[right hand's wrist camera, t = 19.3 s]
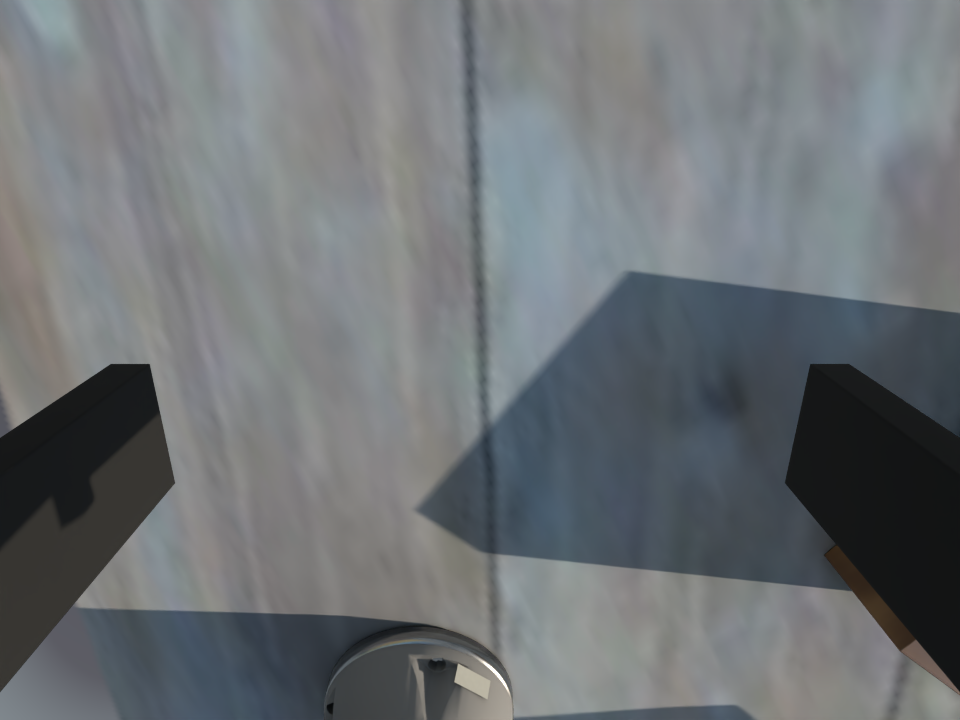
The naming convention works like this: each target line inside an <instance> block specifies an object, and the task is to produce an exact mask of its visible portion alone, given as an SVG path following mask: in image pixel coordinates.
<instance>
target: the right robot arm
mask: <svg viewBox="0 0 960 720" xmlns="http://www.w3.org/2000/svg"><path fill="white" fill-rule="evenodd" d="M174 484H175V481H174V476H173V471H172V467H171V462H170V457H169V453H168V448H167V443H166V439H165V434H164V429H163V425H162V420H161V415H160V411H159V406H158V401H157V396H156V392H155V387H154V382H153V378H152V373H151V368H150V364H110V365H109V366H107V367H106V368H104V369H103V370H101V371H100V372H98V373H97V374H95V375H94V376H92V377H91V378H89V379H88V380H86V381H85V382H83V383H82V384H80V385H79V386H77V387H76V388H74V389H73V390H71V391H70V392H68V393H67V394H65V395H64V396H62V397H61V398H59V399H58V400H56V401H55V402H53V403H52V404H50V405H49V406H47V407H46V408H44V409H43V410H41V411H40V412H38V413H37V414H35V415H34V416H32V417H31V418H29V419H28V420H26V421H25V422H23V423H22V424H20V425H19V426H17V427H16V428H14V429H13V430H11V431H10V432H8V433H7V434H5V435H4V436H2V437H1V438H0V692H1V690H2V689H3V688H4V687H5V686H6V685H7V683H8V682H9V681H10V680H11V678H12V677H13V676H14V675H15V674H16V673H17V671H18V670H19V669H20V668H21V667H22V665H23V664H24V663H25V662H26V661H27V659H28V658H29V657H30V656H31V655H32V653H33V652H34V651H35V650H36V649H37V647H38V646H39V645H40V644H41V643H42V641H43V640H44V639H45V638H46V637H47V635H48V634H49V633H50V632H51V631H52V629H53V628H54V627H55V626H56V625H57V623H58V622H59V621H60V620H61V619H62V618H63V616H64V615H65V614H66V613H67V612H68V610H69V609H70V608H71V607H72V606H73V604H74V603H75V602H76V601H77V600H78V598H79V597H80V596H81V595H82V594H83V592H84V591H85V590H86V589H87V588H88V586H89V585H90V584H91V583H92V582H93V580H94V579H95V578H96V577H97V576H98V574H99V573H100V572H101V571H102V570H103V568H104V567H105V566H106V565H107V564H108V562H109V561H110V560H111V559H112V558H113V557H114V555H115V554H116V553H117V552H118V551H119V549H120V548H121V547H122V546H123V545H124V543H125V542H126V541H127V540H128V539H129V537H130V536H131V535H132V534H133V533H134V531H135V530H136V529H137V528H138V527H139V525H140V524H141V523H142V522H143V521H144V519H145V518H146V517H147V516H148V515H149V513H150V512H151V511H152V510H153V509H154V507H155V506H156V505H157V504H158V503H159V501H160V500H161V499H162V498H163V497H164V496H165V494H166V493H167V492H168V491H169V490H170V488H171V487H172V486H173V485H174ZM785 484H786V485H787V486H788V487H789V488H790V490H791V491H792V492H793V493H794V494H795V496H796V497H797V498H798V499H799V500H800V501H801V503H802V504H803V505H804V506H805V507H806V509H807V510H808V511H809V512H810V513H811V515H812V516H813V517H814V518H815V519H816V521H817V522H818V523H819V524H820V525H821V527H822V528H823V529H824V530H825V531H826V533H827V534H828V535H829V536H830V537H831V539H832V540H833V541H834V542H835V543H836V545H837V546H838V547H839V548H840V549H841V551H842V552H843V553H844V554H845V555H846V557H847V558H848V559H849V560H850V561H851V562H852V564H853V565H854V566H855V567H856V568H857V570H858V571H859V572H860V573H861V574H862V576H863V577H864V578H865V579H866V580H867V582H868V583H869V584H870V585H871V586H872V588H873V589H874V590H875V591H876V592H877V594H878V595H879V596H880V597H881V598H882V600H883V601H884V602H885V603H886V604H887V606H888V607H889V608H890V609H891V610H892V612H893V613H894V614H895V615H896V616H897V618H898V619H899V620H900V621H901V622H902V623H903V625H904V626H905V627H906V628H907V629H908V631H909V632H910V633H911V634H912V635H913V637H914V638H915V639H916V640H917V641H918V643H919V644H920V645H921V646H922V647H923V649H924V650H925V651H926V652H927V653H928V655H929V656H930V657H931V658H932V659H933V661H934V662H935V663H936V664H937V665H938V667H939V668H940V669H941V670H942V671H943V673H944V674H945V675H946V676H947V677H948V679H949V680H950V681H951V682H952V683H953V685H954V686H955V687H956V688H957V689H958V690H959V692H960V438H959V437H958V436H956V435H955V434H953V433H952V432H950V431H949V430H947V429H946V428H944V427H943V426H941V425H940V424H938V423H937V422H935V421H934V420H932V419H931V418H929V417H928V416H926V415H925V414H923V413H922V412H920V411H919V410H917V409H916V408H914V407H913V406H911V405H910V404H908V403H907V402H905V401H904V400H902V399H901V398H899V397H898V396H896V395H895V394H893V393H892V392H890V391H889V390H887V389H886V388H884V387H883V386H881V385H880V384H878V383H877V382H875V381H874V380H872V379H871V378H869V377H868V376H866V375H865V374H863V373H862V372H860V371H859V370H857V369H856V368H854V367H853V366H851V365H850V364H810V368H809V373H808V378H807V382H806V387H805V392H804V396H803V401H802V406H801V411H800V415H799V420H798V425H797V429H796V434H795V439H794V443H793V448H792V453H791V457H790V462H789V467H788V471H787V476H786V481H785ZM513 713H514V712H513V695H512V686H511V682H510V679H509V676H508V674H507V672H506V670H505V668H504V667H503V665H502V664H501V663H500V661H499V660H498V659H497V658H496V657H495V656H494V655H493V654H492V653H491V652H490V651H489V650H488V649H486V648H485V647H484V646H482V645H481V644H479V643H478V642H476V641H474V640H472V639H470V638H468V637H466V636H464V635H461V634H458V633H455V632H452V631H448V630H444V629H439V628H433V627H402V628H395V629H390V630H386V631H383V632H379V633H377V634H374V635H372V636H369V637H367V638H365V639H363V640H362V641H360V642H358V643H357V644H355V645H354V646H353V647H351V648H350V649H349V650H348V651H347V652H346V653H345V654H344V655H343V656H342V657H341V658H340V660H339V661H338V662H337V664H336V666H335V667H334V669H333V672H332V674H331V677H330V680H329V684H328V688H327V692H326V695H325V700H324V720H513Z"/></svg>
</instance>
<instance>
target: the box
mask: <svg viewBox="0 0 960 720" xmlns="http://www.w3.org/2000/svg"><path fill="white" fill-rule="evenodd" d="M825 557H826V558H827V559H828V561H829V562H830V563H831V564H832V566H833V567H834V568H835V570H836V571H837V572H838V573H839V575H840V576H841V577H842V578H843V580H844V581H845V582H846V583H847V585H848V586H849V587H850V589H851V590H852V591H853V592H854V594H855V595H856V596H857V597H858V599H859V600H860V601H861V602H862V604H863V605H864V606H865V608H866V609H867V610H868V611H869V613H870V614H871V615H872V616H873V618H874V619H875V620H876V621H877V623H878V624H879V625H880V627H881V628H882V629H883V630H884V632H885V633H886V634H887V635H888V637H889V638H890V639H891V641H892V642H893V643H894V644H895V646H896V647H897V648H898V649H899V651H900V652H902V653H903V654H905V655H906V656H907V657H909V658H910V659H911V660H913V661H914V662H915V663H917V664H918V665H920V666H921V667H922V668H924V669H925V670H926V671H928V672H929V673H930V674H932V675H933V676H934V677H936V678H937V679H939V680H940V681H941V682H943V683H944V684H945V685H947V686H948V687H949V688H951V689H952V690H954V691H955V692H956V693H958V694H959V695H960V692H959V690H958V689H957V688H956V687H955V686H954V685H953V683H952V682H951V681H950V680H949V679H948V677H947V676H946V675H945V674H944V673H943V671H942V670H941V669H940V668H939V667H938V665H937V664H936V663H935V662H934V661H933V659H932V658H931V657H930V656H929V655H928V653H927V652H926V651H925V650H924V649H923V647H922V646H921V645H920V644H919V643H918V641H917V640H916V639H915V638H914V637H913V635H912V634H911V633H910V632H909V631H908V629H907V628H906V627H905V626H904V625H903V623H902V622H901V621H900V620H899V619H898V618H897V616H896V615H895V614H894V613H893V612H892V610H891V609H890V608H889V607H888V606H887V604H886V603H885V602H884V601H883V600H882V598H881V597H880V596H879V595H878V594H877V592H876V591H875V590H874V589H873V588H872V586H871V585H870V584H869V583H868V582H867V580H866V579H865V578H864V577H863V576H862V574H861V573H860V572H859V571H858V570H857V568H856V567H855V566H854V565H853V564H852V562H851V561H850V560H849V559H848V558H847V557H846V555H845V554H844V553H843V552H842V551H841V549H840V548H839V547H838V546H837V545H836V546H835V547H833V548H832V549H831V550H830V551H828V552H827V553H826V554H825Z"/></svg>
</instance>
